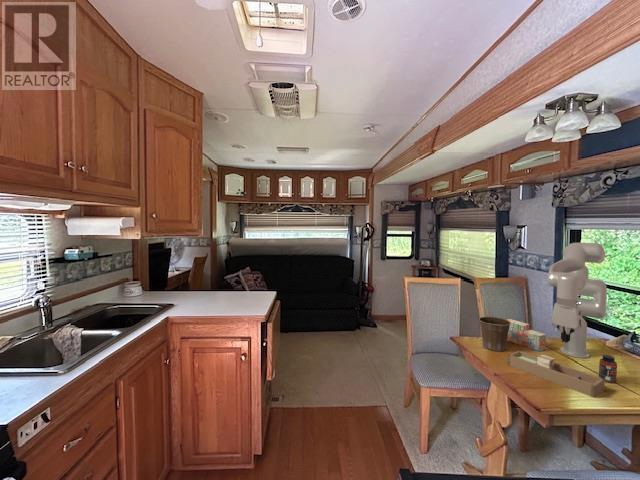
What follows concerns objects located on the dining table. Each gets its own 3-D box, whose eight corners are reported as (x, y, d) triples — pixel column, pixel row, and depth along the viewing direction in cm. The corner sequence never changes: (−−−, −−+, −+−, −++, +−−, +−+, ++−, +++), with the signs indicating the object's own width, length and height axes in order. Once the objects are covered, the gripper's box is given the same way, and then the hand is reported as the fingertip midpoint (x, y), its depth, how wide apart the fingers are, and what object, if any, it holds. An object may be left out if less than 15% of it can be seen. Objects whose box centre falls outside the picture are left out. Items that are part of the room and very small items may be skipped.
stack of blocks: (545, 350, 173) (546, 329, 172) (538, 352, 170) (539, 330, 170) (509, 337, 192) (510, 318, 192) (502, 338, 190) (503, 319, 189)
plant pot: (472, 342, 184) (472, 316, 183) (496, 341, 186) (497, 315, 185) (490, 354, 168) (490, 325, 167) (516, 352, 170) (517, 324, 169)
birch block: (542, 364, 149) (542, 354, 148) (554, 368, 144) (554, 358, 144) (537, 367, 146) (537, 357, 146) (549, 371, 142) (549, 361, 142)
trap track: (519, 359, 161) (519, 350, 160) (604, 390, 131) (604, 379, 131) (507, 364, 155) (508, 355, 155) (594, 397, 125) (594, 386, 125)
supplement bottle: (612, 384, 136) (613, 360, 135) (595, 378, 141) (596, 354, 140) (619, 381, 138) (620, 357, 137) (602, 375, 143) (603, 352, 143)
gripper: (591, 304, 132) (589, 345, 133) (551, 297, 145) (550, 335, 146) (584, 307, 129) (582, 349, 130) (544, 299, 141) (542, 338, 142)
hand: (565, 341), depth 138 cm, fingers closed
